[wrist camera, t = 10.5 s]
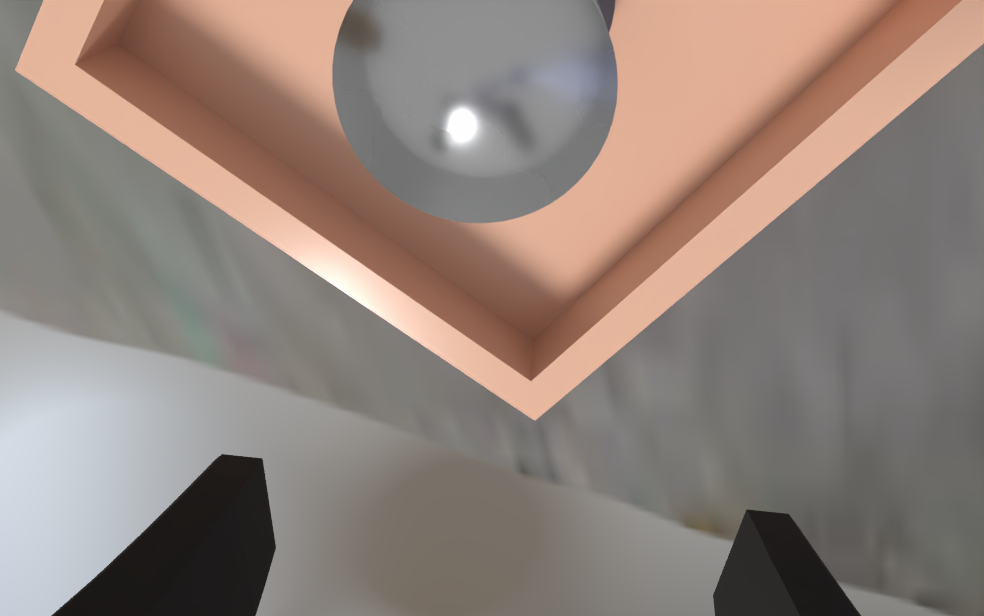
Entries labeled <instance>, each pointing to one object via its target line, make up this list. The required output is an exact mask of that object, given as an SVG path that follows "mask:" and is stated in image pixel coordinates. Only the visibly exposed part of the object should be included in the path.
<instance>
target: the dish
mask: <svg viewBox="0 0 984 616" xmlns="http://www.w3.org/2000/svg"><path fill="white" fill-rule="evenodd" d="M352 1H353V0H44V1H43V3H42V5H41V8H40V10H39V13H38V15H37V18H36V20H35V23H34V25H33V28H32V30H31V32H30V35H29V37H28V40H27V42H26V45H25V47H24V50H23V52H22V55H21V57H20V59H19V62H18V64H17V67H16V69H15V71H17V72H18V73H20V74H21V75H23V76H24V77H26V78H27V79H29V80H30V81H32V82H33V83H35V84H36V85H38V86H39V87H41V88H42V89H44V90H45V91H47V92H48V93H50V94H51V95H52V96H54V97H55V98H57V99H58V100H60V101H61V102H63V103H64V104H66V105H67V106H69V107H70V108H72V109H73V110H75V111H76V112H78V113H79V114H81V115H82V116H84V117H85V118H87V119H88V120H90V121H91V122H93V123H94V124H95V125H97V126H98V127H100V128H101V129H103V130H104V131H106V132H107V133H109V134H110V135H112V136H113V137H115V138H116V139H118V140H119V141H121V142H122V143H124V144H125V145H127V146H128V147H130V148H131V149H133V150H134V151H136V152H137V153H139V154H140V155H141V156H143V157H144V158H146V159H147V160H149V161H150V162H152V163H153V164H155V165H156V166H158V167H159V168H161V169H162V170H164V171H165V172H167V173H168V174H170V175H171V176H173V177H174V178H176V179H177V180H179V181H180V182H182V183H183V184H184V185H186V186H187V187H189V188H190V189H192V190H193V191H195V192H196V193H198V194H199V195H201V196H202V197H204V198H205V199H207V200H208V201H210V202H211V203H213V204H214V205H216V206H217V207H219V208H220V209H222V210H223V211H225V212H226V213H227V214H229V215H230V216H232V217H233V218H235V219H236V220H238V221H239V222H241V223H242V224H244V225H245V226H247V227H248V228H250V229H251V230H253V231H254V232H256V233H257V234H259V235H260V236H262V237H263V238H265V239H266V240H268V241H269V242H270V243H272V244H273V245H275V246H276V247H278V248H279V249H281V250H282V251H284V252H285V253H287V254H288V255H290V256H291V257H293V258H294V259H296V260H297V261H299V262H300V263H302V264H303V265H305V266H306V267H308V268H309V269H311V270H312V271H313V272H315V273H316V274H318V275H319V276H321V277H322V278H324V279H325V280H327V281H328V282H330V283H331V284H333V285H334V286H336V287H337V288H339V289H340V290H342V291H343V292H345V293H346V294H348V295H349V296H351V297H352V298H354V299H355V300H356V301H358V302H359V303H361V304H362V305H364V306H365V307H367V308H368V309H370V310H371V311H373V312H374V313H376V314H377V315H379V316H380V317H382V318H383V319H385V320H386V321H388V322H389V323H391V324H392V325H394V326H395V327H397V328H398V329H400V330H401V331H402V332H404V333H405V334H407V335H408V336H410V337H411V338H413V339H414V340H416V341H417V342H419V343H420V344H422V345H423V346H425V347H426V348H428V349H429V350H431V351H432V352H434V353H435V354H437V355H438V356H440V357H441V358H443V359H444V360H445V361H447V362H448V363H450V364H451V365H453V366H454V367H456V368H457V369H459V370H460V371H462V372H463V373H465V374H466V375H468V376H469V377H471V378H472V379H474V380H475V381H477V382H478V383H480V384H481V385H483V386H484V387H486V388H487V389H488V390H490V391H491V392H493V393H494V394H496V395H497V396H499V397H500V398H502V399H503V400H505V401H506V402H508V403H509V404H511V405H512V406H514V407H515V408H517V409H518V410H520V411H521V412H523V413H524V414H526V415H527V416H529V417H530V418H531V419H533V420H534V421H535V420H536V419H537V418H539V417H540V416H541V415H542V414H543V413H545V412H546V411H547V410H548V409H549V408H550V407H552V406H553V405H554V404H555V403H556V402H558V401H559V400H560V399H561V398H562V397H564V396H565V395H566V394H567V393H568V392H569V391H571V390H572V389H573V388H574V387H575V386H577V385H578V384H579V383H580V382H581V381H583V380H584V379H585V378H586V377H587V376H589V375H590V374H591V373H592V372H593V371H594V370H596V369H597V368H598V367H599V366H600V365H602V364H603V363H604V362H605V361H606V360H608V359H609V358H610V357H611V356H612V355H613V354H615V353H616V352H617V351H618V350H619V349H621V348H622V347H623V346H624V345H625V344H627V343H628V342H629V341H630V340H631V339H632V338H634V337H635V336H636V335H637V334H638V333H640V332H641V331H642V330H643V329H644V328H646V327H647V326H648V325H649V324H650V323H652V322H653V321H654V320H655V319H656V318H657V317H659V316H660V315H661V314H662V313H663V312H665V311H666V310H667V309H668V308H669V307H671V306H672V305H673V304H674V303H675V302H676V301H678V300H679V299H680V298H681V297H682V296H684V295H685V294H686V293H687V292H688V291H690V290H691V289H692V288H693V287H694V286H695V285H697V284H698V283H699V282H700V281H701V280H703V279H704V278H705V277H706V276H707V275H709V274H710V273H711V272H712V271H713V270H715V269H716V268H717V267H718V266H719V265H720V264H722V263H723V262H724V261H725V260H726V259H728V258H729V257H730V256H731V255H732V254H734V253H735V252H736V251H737V250H738V249H739V248H741V247H742V246H743V245H744V244H745V243H747V242H748V241H749V240H750V239H751V238H753V237H754V236H755V235H756V234H757V233H758V232H760V231H761V230H762V229H763V228H764V227H766V226H767V225H768V224H769V223H770V222H772V221H773V220H774V219H775V218H776V217H778V216H779V215H780V214H781V213H782V212H783V211H785V210H786V209H787V208H788V207H789V206H791V205H792V204H793V203H794V202H795V201H797V200H798V199H799V198H800V197H801V196H802V195H804V194H805V193H806V192H807V191H808V190H810V189H811V188H812V187H813V186H814V185H816V184H817V183H818V182H819V181H820V180H821V179H823V178H824V177H825V176H826V175H827V174H829V173H830V172H831V171H832V170H833V169H835V168H836V167H837V166H838V165H839V164H841V163H842V162H843V161H844V160H845V159H846V158H848V157H849V156H850V155H851V154H852V153H854V152H855V151H856V150H857V149H858V148H860V147H861V146H862V145H863V144H864V143H865V142H867V141H868V140H869V139H870V138H871V137H873V136H874V135H875V134H876V133H877V132H879V131H880V130H881V129H882V128H883V127H884V126H886V125H887V124H888V123H889V122H890V121H892V120H893V119H894V118H895V117H896V116H898V115H899V114H900V113H901V112H902V111H903V110H905V109H906V108H907V107H908V106H909V105H911V104H912V103H913V102H914V101H915V100H917V99H918V98H919V97H920V96H921V95H923V94H924V93H925V92H926V91H927V90H928V89H930V88H931V87H932V86H933V85H934V84H936V83H937V82H938V81H939V80H940V79H942V78H943V77H944V76H945V75H946V74H947V73H949V72H950V71H951V70H952V69H953V68H955V67H956V66H957V65H958V64H959V63H961V62H962V61H963V60H964V59H965V58H966V57H968V56H969V55H970V54H971V53H972V52H974V51H975V50H976V49H977V48H978V47H980V46H981V45H982V44H983V43H984V0H615V10H614V15H613V20H612V25H611V28H610V32H609V35H610V38H611V41H612V44H613V48H614V53H615V58H616V63H617V77H618V90H617V104H616V108H615V113H614V118H613V122H612V125H611V128H610V131H609V134H608V137H607V139H606V141H605V143H604V145H603V147H602V149H601V151H600V153H599V155H598V157H597V158H596V160H595V161H594V163H593V164H592V166H591V167H590V169H589V170H588V171H587V172H586V174H585V175H584V176H583V177H582V178H581V179H580V180H579V182H578V183H577V184H575V185H574V186H573V187H572V188H571V189H570V190H569V191H568V192H566V193H565V194H564V195H563V196H561V197H560V198H558V199H557V200H555V201H554V202H552V203H551V204H549V205H547V206H545V207H543V208H541V209H540V210H538V211H536V212H533V213H530V214H528V215H525V216H522V217H519V218H515V219H511V220H507V221H502V222H493V223H466V222H458V221H451V220H447V219H443V218H439V217H436V216H433V215H431V214H428V213H425V212H423V211H420V210H418V209H416V208H414V207H412V206H411V205H409V204H407V203H405V202H403V201H402V200H400V199H399V198H397V197H396V196H395V195H393V194H392V193H390V192H389V191H388V190H387V189H386V188H385V187H383V186H382V185H381V184H380V183H379V182H378V181H377V180H376V179H375V178H374V177H373V176H372V175H371V174H370V173H369V172H368V171H367V169H366V168H365V167H364V165H363V164H362V163H361V161H360V160H359V158H358V157H357V156H356V154H355V153H354V151H353V149H352V147H351V145H350V144H349V142H348V140H347V138H346V136H345V133H344V131H343V128H342V126H341V123H340V120H339V117H338V113H337V109H336V105H335V100H334V92H333V83H332V65H333V57H334V49H335V44H336V40H337V36H338V33H339V29H340V26H341V24H342V22H343V19H344V17H345V14H346V12H347V10H348V8H349V6H350V5H351V3H352Z"/></svg>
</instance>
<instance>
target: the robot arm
mask: <svg viewBox="0 0 984 616" xmlns="http://www.w3.org/2000/svg"><path fill="white" fill-rule="evenodd" d="M275 549H276V546H275V539H274V532H273V526H272V519H271V513H270V506H269V500H268V493H267V486H266V480H265V473H264V466H263V460H262V459H261V458H252V457H243V456H233V455H224V454H222V455H221V456H219V457H218V458H217V459H216V460H215V461H214V462H213V463H212V464H211V465H210V466H209V467H208V468H207V469H206V470H205V471H204V472H203V473H202V474H201V475H200V476H199V477H198V478H197V479H196V480H195V481H194V482H193V483H192V484H191V485H190V486H189V487H188V488H187V489H186V490H185V491H184V492H183V493H182V494H181V495H180V496H179V497H178V498H177V499H176V500H175V501H174V502H173V503H172V504H171V505H170V506H169V507H168V508H167V509H166V510H165V511H164V512H163V513H162V514H161V515H160V516H159V517H158V518H157V519H156V520H155V521H154V522H153V523H152V524H151V525H150V526H149V527H148V528H147V529H146V530H145V531H144V532H143V533H142V534H141V535H140V536H139V537H137V538H136V539H135V541H133V542H132V543H131V544H130V545H129V546H128V547H127V548H126V549H125V550H124V551H123V552H122V553H121V554H120V555H118V556H117V557H116V558H115V559H114V560H113V561H112V562H111V563H110V564H109V565H108V566H107V567H106V568H105V569H104V570H103V571H102V572H100V573H99V574H98V575H97V576H96V577H95V578H94V579H93V580H92V581H91V582H90V583H88V584H87V585H86V586H85V587H84V588H83V589H81V590H80V591H79V592H78V593H77V594H76V595H75V596H73V598H71V599H70V600H69V601H68V602H67V603H65V604H64V605H63V606H62V607H61V608H60V609H59V610H58V611H56V612H55V613H54V614H53V615H52V616H255V615H256V612H257V609H258V606H259V603H260V599H261V596H262V593H263V590H264V586H265V583H266V580H267V576H268V572H269V569H270V566H271V562H272V559H273V556H274V552H275ZM713 598H714V608H715V616H861V615H860V614H859V612H858V611H857V610H856V608H855V607H854V606H853V604H852V603H851V601H850V600H849V599H848V597H847V596H846V594H845V593H844V591H843V590H842V589H841V587H840V586H839V584H838V583H837V582H836V580H835V579H834V577H833V576H832V575H831V573H830V572H829V570H828V569H827V567H826V566H825V565H824V563H823V562H822V560H821V559H820V557H819V556H818V555H817V553H816V552H815V550H814V549H813V547H812V546H811V545H810V543H809V542H808V540H807V539H806V537H805V536H804V535H803V533H802V532H801V530H800V529H799V527H798V526H797V525H796V523H795V522H794V520H793V519H792V518H791V517H790V515H789V514H783V513H774V512H764V511H755V510H746V513H745V515H744V518H743V520H742V523H741V525H740V528H739V530H738V533H737V536H736V538H735V541H734V543H733V546H732V548H731V551H730V553H729V556H728V559H727V561H726V564H725V566H724V569H723V571H722V574H721V576H720V579H719V582H718V584H717V587H716V589H715V592H714V595H713Z"/></svg>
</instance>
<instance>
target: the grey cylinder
mask: <svg viewBox="0 0 984 616" xmlns="http://www.w3.org/2000/svg"><path fill="white" fill-rule="evenodd" d="M614 10H615V0H353V1H352V3H351V5H350V6H349V8H348V10H347V12H346V14H345V17H344V19H343V22H342V24H341V26H340V29H339V33H338V36H337V40H336V44H335V49H334V57H333V65H332V83H333V92H334V100H335V105H336V109H337V113H338V117H339V120H340V123H341V126H342V128H343V131H344V133H345V136H346V138H347V140H348V142H349V144H350V145H351V147H352V149H353V151H354V153H355V154H356V156H357V157H358V158H359V160H360V161H361V163H362V164H363V165H364V167H365V168H366V169H367V171H368V172H369V173H370V174H371V175H372V176H373V177H374V178H375V179H376V180H377V181H378V182H379V183H380V184H381V185H382V186H383V187H385V188H386V189H387V190H388V191H389V192H390V193H392V194H393V195H395V196H396V197H397V198H399V199H400V200H402V201H403V202H405V203H407V204H409V205H411V206H412V207H414V208H416V209H418V210H420V211H423V212H425V213H428V214H431V215H433V216H436V217H439V218H443V219H447V220H451V221H458V222H466V223H493V222H502V221H507V220H511V219H515V218H519V217H522V216H525V215H528V214H530V213H533V212H536V211H538V210H540V209H541V208H543V207H545V206H547V205H549V204H551V203H552V202H554V201H555V200H557V199H558V198H560V197H561V196H563V195H564V194H565V193H566V192H568V191H569V190H570V189H571V188H572V187H573V186H574V185H575V184H577V183H578V182H579V180H580V179H581V178H582V177H583V176H584V175H585V174H586V172H587V171H588V170H589V169H590V167H591V166H592V164H593V163H594V161H595V160H596V158H597V157H598V155H599V153H600V151H601V149H602V147H603V145H604V143H605V141H606V139H607V137H608V134H609V131H610V128H611V125H612V122H613V118H614V113H615V108H616V104H617V90H618V77H617V63H616V58H615V53H614V48H613V44H612V41H611V38H610V35H609V32H610V28H611V25H612V20H613V15H614Z"/></svg>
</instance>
